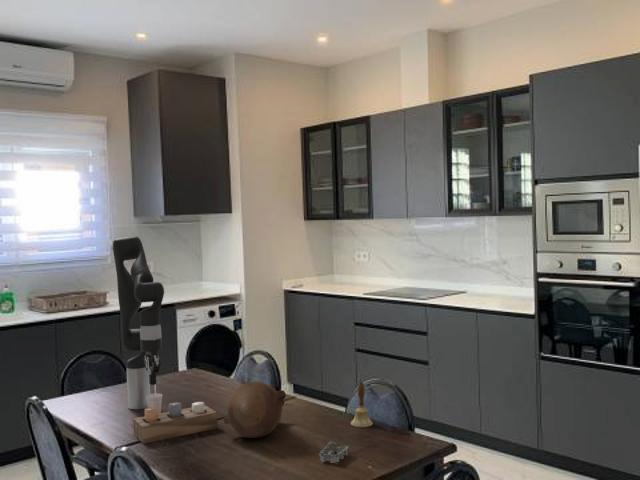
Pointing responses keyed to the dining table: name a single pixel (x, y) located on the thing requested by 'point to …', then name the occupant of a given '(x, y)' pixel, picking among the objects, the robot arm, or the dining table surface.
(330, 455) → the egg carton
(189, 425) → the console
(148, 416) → the brown egg
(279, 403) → the jug
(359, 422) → the hand bell
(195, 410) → the white egg
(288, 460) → the dining table surface
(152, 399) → the smoothie
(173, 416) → the grey rounded cylinder
